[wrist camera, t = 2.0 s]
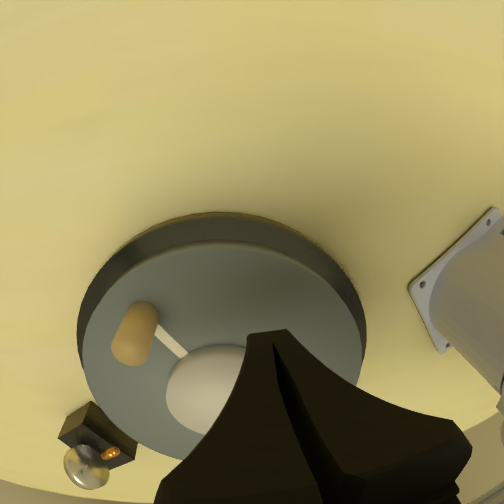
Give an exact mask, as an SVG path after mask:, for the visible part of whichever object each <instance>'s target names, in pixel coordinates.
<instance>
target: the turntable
mask: <svg viewBox="0 0 504 504" xmlns="http://www.w3.org/2000/svg"><path fill="white" fill-rule="evenodd" d="M281 329H287V330H288V331H290V333H291V334H292V335H293V336H294V337H295V338H296V339H297V340H298V341H299V342H300V343H301V344H302V345H303V346H304V347H305V348H306V349H307V350H308V351H309V352H310V353H311V354H313V355H314V356H315V357H316V358H317V359H318V360H319V361H321V362H322V363H323V364H324V365H325V366H327V367H328V368H329V369H331V370H332V371H333V372H335V373H336V374H337V375H339V376H340V377H342V378H343V379H344V380H346V381H347V382H349V383H351V384H353V385H354V386H356V384H357V381H358V378H359V375H360V370H361V363H362V346H361V340H360V334H359V331H358V328H357V325H356V323H355V320H354V318H353V316H352V314H351V313H350V311H349V309H348V308H347V306H346V304H345V303H344V302H343V300H342V299H341V298H340V296H339V295H338V294H337V292H336V291H335V290H334V289H333V288H332V286H331V285H330V284H329V283H328V282H327V281H326V279H324V278H323V277H322V276H321V275H320V274H319V273H318V272H316V271H315V270H314V269H313V268H312V267H310V266H309V265H307V264H305V263H304V262H302V261H301V260H299V259H298V258H296V257H294V256H291V255H289V254H287V253H285V252H283V251H280V250H278V249H275V248H271V247H268V246H265V245H262V244H258V243H252V242H246V241H240V240H220V239H214V240H203V241H193V242H189V243H185V244H180V245H176V246H172V247H170V248H167V249H164V250H162V251H159V252H156V253H154V254H152V255H150V256H148V257H146V258H145V259H143V260H141V261H139V262H137V263H136V264H135V265H133V266H132V267H131V268H129V269H128V270H127V271H126V272H124V273H123V274H122V275H121V276H120V277H119V278H118V279H117V280H116V281H115V282H114V283H113V284H112V285H111V287H110V288H109V289H108V291H107V292H106V294H105V295H104V297H103V298H102V300H101V301H100V303H99V304H98V306H97V307H96V309H95V310H94V312H93V313H92V316H91V318H90V320H89V323H88V325H87V327H86V332H85V336H84V340H83V352H82V358H83V367H84V373H85V376H86V380H87V383H88V386H89V388H90V390H91V392H92V395H93V397H94V398H95V400H96V402H97V403H98V405H99V406H100V408H101V409H102V411H103V412H104V413H105V414H106V415H107V417H108V418H109V419H110V420H111V421H112V422H113V423H114V424H115V425H116V426H117V427H118V428H119V429H120V430H122V431H123V432H124V433H126V434H127V435H128V436H130V437H131V438H132V439H134V440H136V441H137V442H139V443H140V444H142V445H144V446H146V447H148V448H150V449H152V450H154V451H156V452H159V453H161V454H164V455H167V456H169V457H172V458H176V459H180V460H184V459H185V458H186V457H187V456H188V455H189V454H190V452H191V451H192V450H193V449H194V448H195V447H196V445H197V444H198V443H199V442H200V441H201V439H202V438H203V437H204V436H205V435H206V433H207V432H208V431H209V429H210V428H211V426H212V425H213V423H214V422H215V420H216V419H217V417H218V416H219V414H220V412H221V411H222V409H223V407H224V405H225V404H226V402H227V400H228V398H229V396H230V394H231V392H232V389H233V387H234V385H235V382H236V380H237V377H238V375H239V372H240V369H241V366H242V362H243V359H244V355H245V351H246V344H247V338H246V337H247V336H248V335H249V334H251V333H259V332H266V331H274V330H281Z"/></svg>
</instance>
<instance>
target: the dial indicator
mask: <svg viewBox="0 0 504 504" xmlns="http://www.w3.org/2000/svg"><path fill="white" fill-rule="evenodd" d="M58 439H59V440H61V441H62V442H64V443H65V444H66V445H68V446H69V447H70V448H71V449H70V450H68V451H67V452H66V454H65V456H64V460H63V463H64V468H65V471H66V473H67V475H68V477H69V478H70V480H71V481H72V482H73V483H74V484H76V485H77V486H79V487H80V488H83V489H86V490H93V489H96V488H100V487H102V486H104V485H105V484H106V483H107V482H108V479H109V470H111V469H113V468H116V467H118V466H121V465H123V464H126V463H128V462H131V461H133V460H135V455H136V449H137V444H138V442H137V441H136V440H134V439H132V438H131V437H130V436H128V435H127V434H126V433H124V432H123V431H122V430H120V429H119V428H118V427H117V426H116V425H115V424H114V423H113V422H112V421H111V420H110V419H109V418H108V417H107V415H106V414H105V413H104V412H103V411H102V409H100V408H99V407H98V406H97V405H95V404H94V403H93V402H92V401H90V402H89V403H87V404H86V405H84V406H83V407H81V408H80V409H78V410H77V411H75V412H74V413H72V414H71V415H69V416H68V417H66V420H65V422H64V424H63V427H62V429H61V431H60V434H59V436H58Z"/></svg>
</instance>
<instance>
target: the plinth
mask: <svg viewBox="0 0 504 504" xmlns="http://www.w3.org/2000/svg"><path fill="white" fill-rule="evenodd" d="M214 239H220V240H240V241H246V242H252V243H258V244H262V245H265V246H268V247H271V248H275V249H278V250H280V251H283V252H285V253H287V254H289V255H291V256H294V257H296V258H298V259H299V260H301V261H302V262H304V263H305V264H307V265H309V266H310V267H312V268H313V269H314V270H315V271H316V272H318V273H319V274H320V275H321V276H322V277H323V278H324V279H326V281H327V282H328V283H329V284H330V285H331V286H332V288H333V289H334V290H335V291H336V292H337V294H338V295H339V296H340V298H341V299H342V300H343V302H344V303H345V304H346V306H347V308H348V309H349V311H350V313H351V314H352V316H353V318H354V320H355V323H356V325H357V328H358V331H359V334H360V340H361V346H362V362H363V359H364V355H365V349H366V342H367V339H366V321H365V316H364V310H363V307H362V305H361V302H360V299H359V296H358V294H357V292H356V290H355V288H354V287H353V285H352V283H351V281H350V280H349V278H348V277H347V276H346V274H345V273H344V272H343V271H342V269H341V268H340V267H339V266H338V264H337V263H336V262H335V261H334V260H333V259H332V258H331V257H330V256H329V255H328V254H327V253H326V252H325V251H323V250H322V249H321V248H320V247H319V246H318V245H317V244H316V243H314V242H313V241H311V240H310V239H308V238H307V237H305V236H304V235H302V234H301V233H299V232H298V231H295V230H293V229H291V228H289V227H287V226H285V225H283V224H281V223H278V222H275V221H272V220H269V219H266V218H262V217H259V216H253V215H248V214H242V213H231V212H209V213H199V214H191V215H187V216H183V217H178V218H174V219H171V220H168V221H166V222H163V223H160V224H158V225H155V226H153V227H151V228H149V229H147V230H145V231H144V232H142V233H140V234H138V235H137V236H135V237H133V238H132V239H131V240H130V241H128V242H127V243H126V244H125V245H123V246H122V247H121V248H120V249H118V251H117V252H116V253H115V254H114V255H113V256H112V257H111V258H110V259H109V260H108V261H107V262H106V264H105V265H104V266H103V267H102V268H101V269H100V270H99V272H98V273H97V274H96V276H95V278H94V279H93V281H92V282H91V284H90V285H89V287H88V289H87V291H86V294H85V296H84V298H83V301H82V303H81V307H80V311H79V316H78V321H77V346H78V353H79V357H80V361H81V365H82V367H83V358H82V352H83V340H84V336H85V332H86V327H87V325H88V323H89V320H90V318H91V316H92V313H93V312H94V310H95V309H96V307H97V306H98V304H99V303H100V301H101V300H102V298H103V297H104V295H105V294H106V292H107V291H108V289H109V288H110V287H111V285H112V284H113V283H114V282H115V281H116V280H117V279H118V278H119V277H120V276H121V275H122V274H123V273H124V272H126V271H127V270H128V269H129V268H131V267H132V266H133V265H135V264H136V263H137V262H139V261H141V260H143V259H145V258H146V257H148V256H150V255H152V254H154V253H156V252H159V251H162V250H164V249H167V248H170V247H172V246H176V245H180V244H185V243H189V242H193V241H203V240H214ZM361 366H362V363H361ZM83 370H84V367H83Z"/></svg>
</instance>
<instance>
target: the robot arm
mask: <svg viewBox="0 0 504 504" xmlns="http://www.w3.org/2000/svg"><path fill="white" fill-rule="evenodd" d="M486 222H487V223H486ZM422 281H423V283H422V285H420V283H421V282H422ZM408 290H409V293H410V295H411V297H412V299H413V301H414V303H415V305H416V307H417V309H418V311H419V313H420V315H421V317H422V319H423V322H424V324H425V326H426V328H427V330H428V332H429V335H430V337H431V339H432V341H433V343H434V346H435V348H436V350H437V352H438V353H439V354H443V353H444V352H446V351H447V350H448V349H449V348H450V347H451V346H453V347H454V348H455V349H456V350H457V351H458V352H459V353H460V354H461V355H462V356H463V357H464V358H465V359H466V360H467V361H468V362H469V363H470V364H471V365H472V366H473V367H474V368H475V369H476V370H477V371H478V372H479V373H480V374H481V375H482V376H483V377H484V378H485V379H486V380H487V382H488V383H489V384H490V385H491V386H492V387H493V388H494V389H495V390H496V391H497V392H498V393H499V394H500V395H501V398H500V400H499V402H498V404H497V405H496V408H497V409H498V410H499V411H500V412H501V413H502V415H503V416H504V218H501V215H500V211H499V209H498V208H496V207H492V208H491V209H490V210H489V211H488V212H487V213H486V214H485V215H484V216H483V217H482V218H481V219H480V220H479V221H478V222H477V223H476V224H475V225H474V226H473V227H472V228H471V229H470V230H469V231H468V232H467V233H466V234H465V235H464V236H463V237H462V238H461V239H460V240H459V241H458V242H457V243H455V244H454V245H453V246H452V247H451V248H450V249H449V250H448V251H447V252H446V253H445V254H444V255H442V256H441V257H440V258H439V259H438V260H437V261H436V262H435V263H434V264H432V265H431V266H430V267H429V268H428V269H427V270H426V271H424V272H423V273H422V274H421V275H420V276H419V277H417V278H416V279H415V280H414V281H413V282H412V283H411V284H410V286H409V289H408ZM246 338H247V344H246V351H245V355H244V359H243V362H242V366H241V369H240V372H239V375H238V377H237V380H236V382H235V385H234V387H233V389H232V392H231V394H230V396H229V398H228V400H227V402H226V404H225V405H224V407H223V409H222V411H221V412H220V414H219V416H218V417H217V419H216V420H215V422H214V423H213V425H212V426H211V428H210V429H209V431H208V432H207V433H206V435H205V436H204V437H203V438H202V439H201V441H200V442H199V443H198V444H197V445H196V447H195V448H194V449H193V450H192V451H191V452H190V454H189V455H188V456H187V457H186V458H185V459H184V460H183V461H182V462H181V463H180V464H179V465H178V466H177V467H176V468H174V469H173V470H172V471H171V472H170V473H169V474H168V475H167V476H166V477H165V478H163V479H162V480H161V483H160V485H159V488H158V490H157V493H156V496H155V500H154V504H461V503H460V501H459V499H458V498H457V496H456V495H457V494H458V493H459V488H458V486H457V484H456V483H455V480H456V478H457V477H458V476H459V474H460V473H461V471H462V470H463V468H464V467H465V465H466V464H467V462H468V460H469V459H470V457H471V454H472V446H471V444H470V443H469V441H468V440H467V438H466V437H465V435H464V434H463V432H462V431H461V430H460V428H459V427H458V426H457V425H456V424H455V423H454V422H453V420H449V419H444V418H439V417H434V416H430V415H425V414H421V413H418V412H414V411H411V410H408V409H405V408H402V407H399V406H396V405H394V404H391V403H389V402H386V401H384V400H382V399H379V398H377V397H375V396H373V395H371V394H369V393H367V392H365V391H363V390H361V389H359V388H358V387H356V386H354V385H353V384H351V383H349V382H347V381H346V380H344V379H343V378H342V377H340V376H339V375H337V374H336V373H335V372H333V371H332V370H331V369H329V368H328V367H327V366H325V365H324V364H323V363H322V362H321V361H319V360H318V359H317V358H316V357H315V356H314V355H313V354H311V353H310V352H309V351H308V350H307V349H306V348H305V347H304V346H303V345H302V344H301V343H300V342H299V341H298V340H297V339H296V338H295V337H294V336H293V335H292V334H291V333H290V331H288V330H287V329H281V330H274V331H266V332H259V333H251V334H249V335H248V336H247V337H246ZM500 434H501V439H502V443H503V446H504V419H503V421H502V423H501V428H500ZM468 504H504V481H503V482H502V483H500V484H499V485H497V486H496V487H494V488H493V489H491V490H489V491H488V492H486V493H485V494H483V495H482V496H480V497H478V498H477V499H475V500H473V501H472V502H470V503H468Z"/></svg>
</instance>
